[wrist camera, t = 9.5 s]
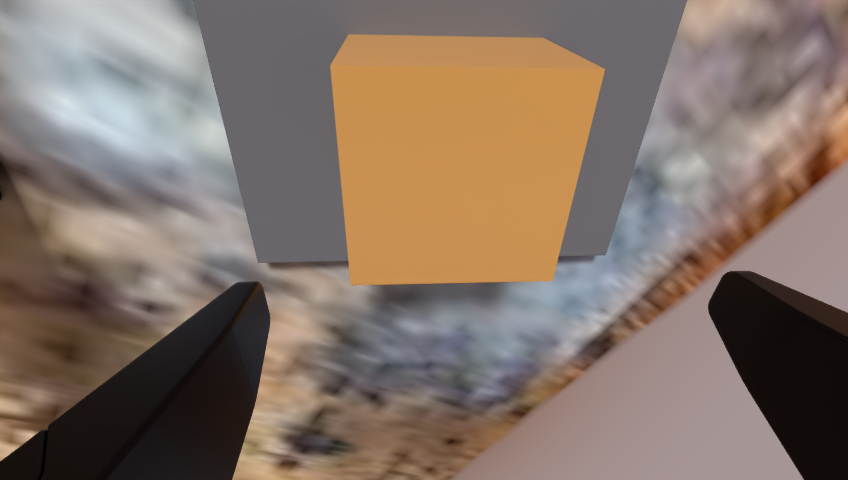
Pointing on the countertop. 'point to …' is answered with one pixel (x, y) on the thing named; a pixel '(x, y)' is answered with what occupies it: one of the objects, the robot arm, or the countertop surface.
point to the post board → (417, 16)
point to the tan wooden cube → (458, 155)
